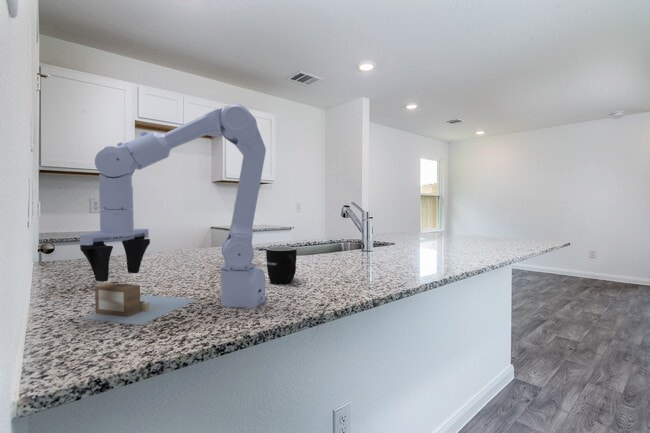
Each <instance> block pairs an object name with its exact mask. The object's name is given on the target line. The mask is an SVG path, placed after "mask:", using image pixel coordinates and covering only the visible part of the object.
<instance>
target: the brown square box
mask: <svg viewBox="0 0 650 433" xmlns="http://www.w3.org/2000/svg"><path fill="white" fill-rule="evenodd" d="M140 285H141V284H140ZM140 285H138V284H128V283H126V284H125V283H112V282H107V283H102V284H98V285H95V286H94V296H95V298H94V299H95V300H94V301H95V302H94V304H95V313H97V314H106V315H116V316H125V317H129V316H132V315H134V314H137V313H139V312H140V297H141V286H140Z"/></svg>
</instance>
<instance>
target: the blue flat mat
mask: <svg viewBox="0 0 650 433" xmlns="http://www.w3.org/2000/svg"><path fill="white" fill-rule="evenodd" d="M197 300H198V299H195V298H186V297H185V298H183V297H172V296H160V295H148V294H146V295H143V296H140V312H139V313H137V314H134V315H132V316H129V317H125V316H116V315H106V314H97V313H96V312H93V313H91V314H88V315H85V316H83V317H80V318H79V319H82V320H92V321H101V322H109V323H119V324H127V325H137V326H142V325H144V324H146V323H149V322H151V321H154V320H156V319H158V318H160V317H163V316H164V315H167V314H169V313H171V312H173V311H176V310H178V309H180V308H182V307H184V306H186V305H189V304H191V303H194V302H196V301H197Z"/></svg>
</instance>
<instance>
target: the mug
mask: <svg viewBox="0 0 650 433" xmlns="http://www.w3.org/2000/svg"><path fill="white" fill-rule="evenodd" d="M297 255H298V254H297V247H294V246H271V247H267V248H266V250H265V256H266V259H265V260H266V268H267V269H266V270H267V276H268V279H269V282H270V283H271V284H273V285H279V284H282V285H288V283H289V284H291V283H292V282H293V281H294V278H295V275H296V272H297V257H298V256H297Z"/></svg>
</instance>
